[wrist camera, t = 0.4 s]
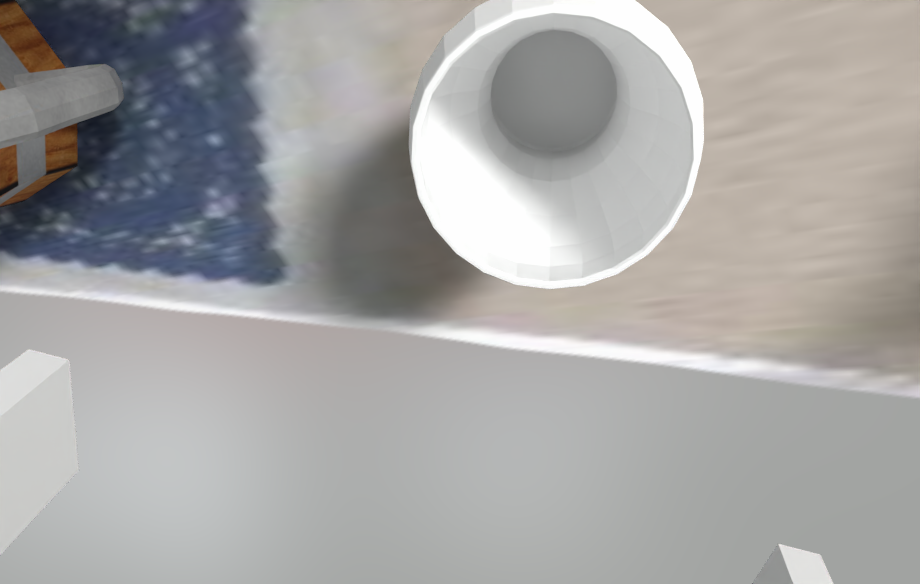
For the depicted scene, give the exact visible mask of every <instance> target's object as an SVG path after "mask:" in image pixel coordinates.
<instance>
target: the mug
mask: <svg viewBox="0 0 920 584" xmlns="http://www.w3.org/2000/svg"><path fill="white" fill-rule="evenodd" d="M123 99H124V95H123V87H122V82H121V80H120V79H119V77H118V75H117V73H116V71H115V69H113V68H112V67H110V66H108V65H106V64H97V65H86V66H79V67H71V68H65V66H64V65H63V64H62V62H61V61H60V60H59V58H58V57H57V56H56V54H55V53H54V52H53V50H52V49H51V48H50V46H49V45H48V44H47V42H46V41H45V40H44V38H43V37H42V36H41V34H40V33H39V32H38V30H37V29H36V28H35V26H34V25H33V24H32V22H31V21H30V19H29V18H28V17H27V15H26V14H25V13H24V11H23V10H22V9H21V7H20V6H19V5H18V3H17V2H16V1H15V0H0V207H4V206H7V205H11V204H15V203H18V202H22V201H24V200H26V199H27V198H29V197H30V196H32V195H33V194H35V193H37V192H38V191H40V190H41V189H43V188H44V187H46V186H47V185H49V184H50V183H52V182H53V181H55V180H56V179H58V178H59V177H61V176H62V175H64V174H65V173H67V172H68V171H70V170H71V169H73V168H74V167H76V166H77V123H78V122H81V121H84V120H87V119H90V118H93V117H95V116H98V115H101V114H104V113H106V112H109V111H112V110H114V109H115V108H116V107H118V106H119V105H120V103H121V102H122V100H123Z"/></svg>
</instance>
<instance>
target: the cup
mask: <svg viewBox="0 0 920 584" xmlns="http://www.w3.org/2000/svg"><path fill="white" fill-rule="evenodd" d="M703 142H704V124H703V98H702V95H701V92H700V89H699V85H698V82H697V79H696V76H695V72H694V69H693V66H692V63H691V61H690V59H689V58H688V56H687V55H686V53H685V52H684V50H683V49H682V47H681V46H680V44H679V43H678V41H677V40H676V38H675V37H674V35H673V34H672V32H671V31H670V29H669V28H668V27H667V26H666V25H665V24H663V23H662V22H661V21H660V20H659V19H657V18H656V17H655V16H654V15H652V14H651V13H650V12H649V11H648V10H646V9H645V8H644V7H643V6H641V5H640V4H639V3H638V2H636V1H635V0H489V1H487V2H485V3H483V4H481V5H479V6H477V7H475V8H474V9H473V10H472V11H471V12H470V13H468V14H467V15H466V16H465V17H464V18H463V19H462V20H461V21H460V22H459V23H457V24H456V25H455V26H454V27H453V28H452V29H451V30H450V31H449V32H448V33H446V34H445V35H444V36H443V38H442V39H441V41H440V43H439V44H438V46H437V47H436V49H435V50H434V52H433V54H432V55H431V57H430V58H429V60H428V61H427V63H426V65H425V66H424V68H423V69H422V72H421V75H420V78H419V81H418V85H417V88H416V91H415V94H414V97H413V100H412V104H411V107H410V127H409V154H410V163H411V168H412V173H413V177H414V182H415V186H416V191H417V196H418V198H419V200H420V202H421V204H422V206H423V208H424V210H425V212H426V214H427V216H428V218H429V220H430V222H431V224H432V226H433V228H434V229H435V230H436V231H437V232H438V234H439V235H440V236H441V237H442V238H443V239H444V240H445V242H446V243H447V244H448V245H449V246H450V247H451V248H452V250H453V251H454V252H455V253H456V254H458V255H459V256H460V257H462V258H463V259H465V260H466V261H468V262H469V263H471V264H472V265H473V266H475V267H476V268H478V269H479V270H481V271H482V272H484V273H486V274H489V275H491V276H494V277H497V278H499V279H502V280H504V281H507V282H510V283H512V284H515V285H521V286H529V287H536V288H544V289H556V288H566V287H576V286H584V285H587V284H590V283H593V282H596V281H599V280H602V279H605V278H608V277H611V276H613V275H616V274H618V273H620V272H621V271H623V270H625V269H626V268H628V267H629V266H631V265H632V264H634V263H636V262H637V261H639V260H640V259H642V258H643V257H645V256H647V255H648V254H649V253H650V252H651V251H652V250H653V249H654V248H655V247H656V246H657V244H658V243H659V242H660V241H661V240H662V239H663V238H664V237H665V236H666V235H667V234H668V233H669V232H670V231H671V230H672V229H673V227H674V226H675V224H676V222H677V220H678V219H679V217H680V215H681V213H682V211H683V210H684V208H685V206H686V204H687V203H688V201H689V199H690V197H691V195H692V191H693V187H694V184H695V180H696V176H697V172H698V168H699V164H700V160H701V155H702V148H703Z"/></svg>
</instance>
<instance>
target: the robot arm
mask: <svg viewBox="0 0 920 584" xmlns="http://www.w3.org/2000/svg"><path fill="white" fill-rule="evenodd" d="M78 471H79V463H78V452H77V441H76V429H75V418H74V407H73V396H72V386H71V375H70V362H69V360H68V359H64V358H60V357H57V356H53V355H49V354H45V353H42V352H38V351H34V350H30V349H28V350H27V351H26V352H24V353H23V354H22V355H20V356H19V357H18V358H16V359H15V360H14V361H12V362H11V363H10V364H8V365H7V366H5V367H4V368H3V369H1V370H0V555H1V554H2V553H3V552H4V551H5V550H6V549H7V548H8V546H9V545H10V544H11V543H12V542H13V541H14V540H15V539H16V538H17V537H18V536H19V535H20V534H21V533H22V532H23V530H24V529H25V528H26V527H27V526H28V525H29V524H30V523H31V522H32V520H34V519H35V518H36V516H37V515H38V514H39V513H40V512H41V511H42V510H43V509H44V507H46V506H47V504H49V502H50V501H51V500H52V499H53V498H54V497H55V496H56V495H57V494H58V493H59V492H60V491H61V490H62V488H63V487H64V486H65V485H66V484H67V483H68V482H69V481H70V480H71V479H72V478H73V477H74V476H75V475H76V473H77V472H78ZM752 584H833V582H832V580H831V578H830V575H829V573H828V571H827V568H826V566H825V564H824V562H823V560H822V557H821V555H819V554H816V553H812V552H808V551H804V550H800V549H797V548H793V547H789V546H785V545H781V544H778V545H777V546H776V548H775V549H774V551H773V553H772V554H771V556H770V557H769V559H768V560H767V562H766V563H765V565H764V567H763V568H762V569H761V571H760V573H759V574H758V576H757V577H756V579H755V580H754V582H753V583H752Z"/></svg>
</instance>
